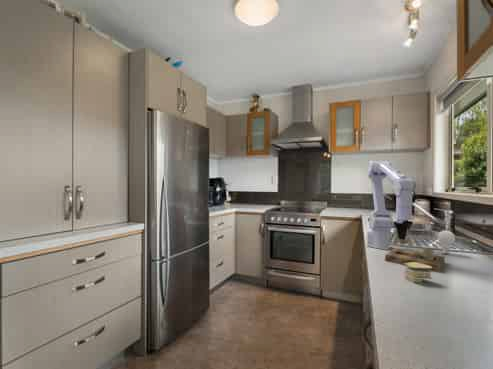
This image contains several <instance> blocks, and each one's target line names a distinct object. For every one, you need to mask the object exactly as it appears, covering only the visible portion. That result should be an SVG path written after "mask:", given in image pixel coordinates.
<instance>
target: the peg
mask: <svg viewBox="0 0 493 369" xmlns="http://www.w3.org/2000/svg"><path fill="white" fill-rule="evenodd" d="M422 253H423V259H427V260H432V261H434V255H435V254H434V253H435V250H434V249H431V248H423V249H422Z"/></svg>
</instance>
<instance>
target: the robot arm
mask: <svg viewBox="0 0 493 369" xmlns="http://www.w3.org/2000/svg"><path fill="white" fill-rule="evenodd" d="M366 171H367V178H368V179H370V182H371V190H372V199H373V206H374V208H373V209H374V210H373V211H371V213H370V214H369V219H368V225H369V227H370V228H368V230H367V237H366V238H367V239H366V240H367V241H366V247H370V248H373V249H375V248H376V249H381V250H386V251H388V250H389V249H391V248H392V246H391V245H390V231H391V229H392V230H393V228H394V226H395V229H396V232H397V237H399V239H403V240H405V237H406V233H407V229H408V234H409V233H410V229H411V227H412V225H413V223H414V221H415V219H416V217H414V216H412V213H413V192H415V190H416V188H417V183H416V180H415V178H413V177H410V178H409V177H407V176H406V175H405V174H403V173H402V171H401V170H400V169H398V170H397V169H394V168H393V167H392V162H391V161H389V160H370V161H368V164H367V167H366ZM383 179H388V181H389V182H390V183H391V184H392V185H393V189H394V194H395V197H396V200H395V201H396V202H395V203H396V205H395V219H396V221H395V220H394V219H393V216H392V213H391V212H390V211H388V210H387V209H386V201H385V193H384V186H383ZM411 220H414V221H411Z"/></svg>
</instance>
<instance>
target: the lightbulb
mask: <svg viewBox="0 0 493 369" xmlns="http://www.w3.org/2000/svg"><path fill="white" fill-rule="evenodd" d="M437 239H438V241H439V242H440V245H441V252H442V253H443V254H444V255H448V254H450V249H451V246H452V244H454V242H455V240H456V235H455V233H454V232H452V231H451V230H448V229H447V230H444V229H443V230H440V231H439V232H438V234H437Z"/></svg>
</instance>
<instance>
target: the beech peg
mask: <svg viewBox="0 0 493 369" xmlns="http://www.w3.org/2000/svg"><path fill="white" fill-rule="evenodd" d="M397 237H398V236H397ZM397 241H398V243H399V244H400V243H401V244H408V243H409V233H408V229H407V233H406V237H405V240H403V239H399V237H398V240H397Z"/></svg>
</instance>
